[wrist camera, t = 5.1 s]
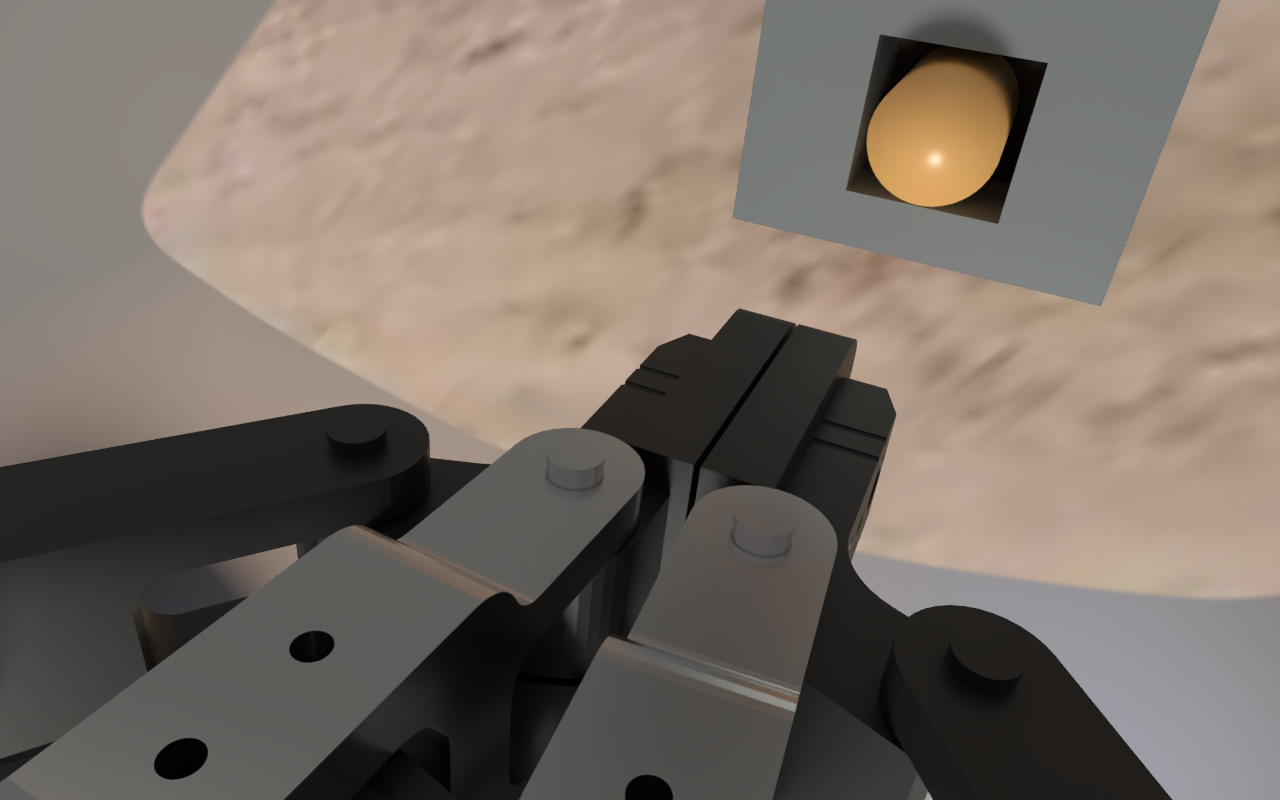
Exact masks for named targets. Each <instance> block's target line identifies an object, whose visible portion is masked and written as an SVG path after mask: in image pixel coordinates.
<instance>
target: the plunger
mask: <svg viewBox="0 0 1280 800" xmlns="http://www.w3.org/2000/svg"><path fill="white" fill-rule="evenodd" d="M1018 103H1019V88H1018V82H1017V79H1016V76H1015V73H1014V71H1013V69H1012V67H1011V66H1010V65H1009V63H1008V62H1007V61H1006V60H1005V59H1004V57H1003V56H1002V55H998V54H992V53H986V52H981V51H975V50H969V49H963V48H957V47H951V46H945V45H944V46H941V47H939V48H937V49H935V50H933V51H931V52H930V53H928V54H927V55H926V56H924V57H923V58H922V59H921V60H920V61H919V62H918V63H917V64H916V65H915V66H914V67H913V68H912V69H911V70H910V71H909V72H908V73H907V74H906V75H905V76H904V78H903V79H902V80H901V81H900V82H899V83H898V84H897V85H896V86H895V87H894V88H893V89H892V90H891V91H890V92H889V93H888V94H887V95H886V96H885V97H884V99H883V100H882V101H881V102H880V104H879V105H878V107H877V108H876V110H875V112H874V114H873V116H872V118H871V121H870V124H869V128H868V133H867V153H868V158H869V162H870V165H871V167H872V170H873V172H874V173H875V175H876V177H877V178H878V180H879V181H880V183H881V184H882V185H883V186H884V187H885V188H886V189H887V190H888V191H889V192H891V193H892V194H893V195H895V196H896V197H898V198H900V199H901V200H904V201H906V202H908V203H912V204H915V205H920V206H930V207H936V206H944V205H949V204H953V203H956V202H958V201H961V200H963V199H965V198H967V197H969V196H970V195H972V194H973V193H975V192H976V191H977V190H978V189H980V188H981V187H982V186H983V185H984V184H985V183H986V182H987V181H988V179H989V178H990V177H991V175H992V174H993V172H994V171H995V169H996V167H997V165H998V163H999V160H1000V157H1001V155H1002V152H1003V149H1004V146H1005V143H1006V141H1007V138H1008V135H1009V132H1010V129H1011V127H1012V124H1013V121H1014V118H1015V115H1016V112H1017V108H1018Z"/></svg>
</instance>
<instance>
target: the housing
mask: <svg viewBox="0 0 1280 800" xmlns="http://www.w3.org/2000/svg"><path fill="white" fill-rule="evenodd" d="M1219 2H1220V0H766V5H765V11H764V18H763V24H762V31H761V37H760V44H759V50H758V57H757V63H756V70H755V76H754V83H753V89H752V95H751V102H750V108H749V115H748V121H747V128H746V134H745V141H744V147H743V154H742V160H741V167H740V173H739V180H738V186H737V193H736V199H735V205H734V212H733V218H735V219H739V220H743V221H747V222H751V223H755V224H760V225H764V226H768V227H772V228H776V229H780V230H785V231H789V232H793V233H797V234H801V235H806V236H810V237H814V238H818V239H822V240H826V241H831V242H835V243H839V244H843V245H847V246H852V247H856V248H860V249H864V250H868V251H872V252H877V253H881V254H885V255H889V256H893V257H898V258H902V259H906V260H910V261H914V262H918V263H923V264H927V265H931V266H935V267H939V268H944V269H948V270H952V271H956V272H960V273H964V274H969V275H973V276H977V277H981V278H985V279H990V280H994V281H998V282H1002V283H1006V284H1010V285H1015V286H1019V287H1023V288H1027V289H1031V290H1036V291H1040V292H1044V293H1048V294H1052V295H1056V296H1061V297H1065V298H1069V299H1073V300H1077V301H1082V302H1086V303H1090V304H1094V305H1098V306H1101V305H1102V303H1103V300H1104V297H1105V295H1106V292H1107V290H1108V287H1109V285H1110V282H1111V279H1112V277H1113V274H1114V272H1115V269H1116V267H1117V264H1118V262H1119V259H1120V256H1121V254H1122V251H1123V249H1124V246H1125V244H1126V241H1127V238H1128V236H1129V233H1130V231H1131V228H1132V226H1133V223H1134V220H1135V218H1136V215H1137V213H1138V210H1139V208H1140V205H1141V203H1142V200H1143V197H1144V195H1145V192H1146V190H1147V187H1148V185H1149V182H1150V179H1151V177H1152V174H1153V172H1154V169H1155V167H1156V164H1157V161H1158V159H1159V156H1160V154H1161V151H1162V149H1163V146H1164V143H1165V141H1166V138H1167V136H1168V133H1169V131H1170V128H1171V126H1172V123H1173V120H1174V118H1175V115H1176V113H1177V110H1178V108H1179V105H1180V102H1181V100H1182V97H1183V95H1184V92H1185V90H1186V87H1187V84H1188V82H1189V79H1190V77H1191V74H1192V72H1193V69H1194V67H1195V64H1196V61H1197V59H1198V56H1199V54H1200V51H1201V49H1202V46H1203V43H1204V41H1205V38H1206V36H1207V33H1208V31H1209V28H1210V25H1211V23H1212V20H1213V18H1214V15H1215V13H1216V10H1217V7H1218V5H1219ZM901 38H905V39H910V40H916V41H922V42H928V43H934V44H940V45H945V46H951V47H957V48H963V49H969V50H975V51H981V52H986V53H992V54H998V55H1004V56H1010V57H1016V58H1022V59H1027V60H1033V61H1039V62H1045V63H1047V66H1046V69H1045V73H1044V76H1043V79H1042V82H1041V86H1040V89H1039V92H1038V95H1037V98H1036V102H1035V105H1034V108H1033V111H1032V115H1031V118H1030V121H1029V124H1028V127H1027V131H1026V134H1025V137H1024V140H1023V144H1022V147H1021V150H1020V153H1019V156H1018V160H1017V163H1016V166H1015V169H1014V173H1013V176H1012V179H1011V182H1010V183H1009V182H1004V181H999V180H994V179H988V181H987V182H986V183H985V184H984V185H983V186H982V187H981V188H980V189H978V190H977V191H976V192H975V193H973V194H972V195H970V196H969V197H967V198H965V199H963V200H961V201H958V202H956V203H953V204H949V205H944V206H936V207H930V206H920V205H915V204H912V203H908V202H906V201H904V200H901V199H900V198H898V197H896V196H895V195H893V194H892V193H891V192H889V191H888V190H887V189H886V188H885V187H884V186H883V185H882V184H881V183H880V181H879V180H878V178H877V177H876V175H875V173H874V172H873V170H872V167H871V165H870V162H869V158H868V153H867V133H868V128H869V124H870V121H871V118H872V116H873V114H874V112H875V110H876V108H877V107H878V105H879V104H880V102H881V101H882V100H883V99H884V97H885V96H886V95H887V94H888V93H889V89H890V85H891V81H892V76H893V72H894V68H895V63H896V59H897V54H898V50H899V46H900V41H901Z"/></svg>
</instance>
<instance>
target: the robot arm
mask: <svg viewBox="0 0 1280 800" xmlns="http://www.w3.org/2000/svg"><path fill="white" fill-rule="evenodd" d="M856 348H857V340H856V339H852V338H848V337H845V336H841V335H837V334H833V333H830V332H826V331H822V330H819V329H815V328H811V327H807V326H804V325H800V324H799V325H798V326H797V327H796V324H795V323H792V322H788V321H784V320H781V319H777V318H773V317H769V316H766V315H762V314H758V313H754V312H751V311H747V310H743V309H738V310H737V311H736V312H735V313H734V314H733V315H732V316H731V318H730V319H729V320H728V321H727V322H726V323H725V325H724V326H723V327H722V328H721V329H720V331H719V332H718V333H717V334H716V335H715V336H714V338H713V339H712V340H709V339H706V338H702V337H699V336H695V335H692V334H688V335H685V336H683V337H680V338H677V339H675V340H672V341H670V342H667V343H665V344H662V345H660V346H658V347H657V348H656V349H655V350H654V351H653V352H652V353H651V354H650V355H649V356H648V358H647V359H646V360H645V361H644V362H643V363H642V364H641V365H640V369H636V370H635V371H634V372H633V373H632V374H631V375H630V377H629V378H628V379H627V380H626V382H625V385H621V386H620V387H619V388H618V389H617V390H616V391H615V392H614V393H613V394H612V396H611V397H610V398H609V399H608V400H607V401H606V402H605V403H604V404H603V405H602V406H601V407H600V408H599V409H598V410H597V411H596V412H595V414H594V415H593V416H592V417H591V418H590V419H589V420H588V421H587V422H586V423H585V424H584V425H583V426H582V427H581V428H580V429H579V428H561V429H552V430H547V431H542V432H539V433H536V434H533V435H531V436H529V437H527V438H524V439H523V440H521V441H520V442H518V443H517V444H516V445H514V446H513V447H512V448H511V449H510V450H508V451H507V452H506V453H505V454H503V455H502V456H501V457H500V458H499V459H497V460H496V461H495V462H494V463H492V464H478V463H470V462H461V461H452V460H444V459H435V458H430V442H429V433H428V431H427V429H426V427H425V426H424V424H423V423H422V422H421V421H420V420H418V419H417V418H416V417H415V416H413V415H411V414H409V413H408V412H405V411H403V410H400V409H397V408H393V407H389V406H383V405H375V404H354V405H345V406H339V407H333V408H327V409H323V410H316V411H311V412H305V413H300V414H294V415H289V416H283V417H277V418H272V419H266V420H261V421H255V422H250V423H244V424H238V425H233V426H227V427H222V428H216V429H210V430H205V431H199V432H195V433H188V434H183V435H178V436H172V437H166V438H161V439H155V440H149V441H144V442H138V443H132V444H127V445H122V446H116V447H111V448H105V449H100V450H94V451H88V452H82V453H77V454H72V455H66V456H60V457H55V458H49V459H43V460H38V461H32V462H27V463H21V464H16V465H10V466H4V467H0V800H1172V799H1171V798H1170V796H1169V795H1168V794H1167V793H1166V792H1165V790H1164V789H1163V788H1162V787H1161V785H1160V784H1159V783H1158V782H1157V780H1156V779H1155V778H1154V777H1153V776H1152V774H1151V773H1150V772H1149V771H1148V769H1147V768H1146V767H1145V766H1144V764H1143V763H1142V762H1141V761H1140V760H1139V758H1138V757H1137V756H1136V755H1135V753H1134V752H1133V751H1132V750H1131V748H1130V747H1129V746H1128V745H1127V744H1126V742H1125V741H1124V740H1123V739H1122V737H1121V736H1120V735H1119V734H1118V732H1117V731H1116V730H1115V729H1114V728H1113V726H1112V725H1111V724H1110V723H1109V721H1108V720H1107V719H1106V718H1105V716H1104V715H1103V714H1102V713H1101V712H1100V710H1099V709H1098V708H1097V707H1096V705H1095V704H1094V703H1093V702H1092V700H1091V699H1090V698H1089V697H1088V696H1087V694H1086V693H1085V692H1084V691H1083V689H1082V688H1081V687H1080V686H1079V684H1078V683H1077V682H1076V681H1075V680H1074V678H1073V677H1072V676H1071V675H1070V674H1069V672H1068V671H1067V670H1066V669H1065V667H1064V666H1063V665H1062V664H1061V662H1060V661H1059V660H1058V659H1057V657H1056V656H1055V655H1054V654H1053V653H1052V652H1051V651H1050V650H1049V649H1048V648H1047V646H1046V645H1045V644H1043V643H1042V642H1041V641H1040V640H1039V639H1037V638H1036V637H1035V636H1034V635H1032V634H1031V633H1030V632H1028V631H1027V630H1025V629H1024V628H1022V627H1021V626H1019V625H1017V624H1015V623H1013V622H1011V621H1010V620H1008V619H1005V618H1003V617H1001V616H998V615H996V614H993V613H990V612H987V611H984V610H981V609H976V608H971V607H966V606H955V605H945V606H935V607H930V608H925V609H923V610H920V611H918V612H916V613H914V614H913V615H911V616H910V617H908V616H906V615H905V614H903V613H901V612H900V611H898V610H896V609H895V608H893V607H891V606H890V605H889V604H887V603H886V602H884V601H883V600H882V599H880V598H879V597H878V596H877V595H876V594H874V593H873V592H872V591H871V590H870V589H869V588H868V587H867V586H866V585H865V584H864V582H863V581H862V580H861V579H860V577H859V576H858V574H857V573H856V572H855V570H854V568H853V566H852V564H851V560H852V557H853V555H854V552H855V549H856V547H857V543H858V541H859V539H860V536H861V533H862V531H863V528H864V525H865V522H866V520H867V517H868V514H869V511H870V507H871V503H872V500H873V496H874V493H875V489H876V486H877V482H878V478H879V475H880V471H881V468H882V464H883V461H884V457H885V453H886V450H887V446H888V443H889V439H890V436H891V432H892V428H893V425H894V421H895V418H896V412H895V410H894V407H893V404H892V402H891V399H890V396H889V394H888V391H887V389H884V388H881V387H877V386H874V385H870V384H866V383H863V382H859V381H856V380H852V379H850V375H851V371H852V367H853V362H854V358H855V353H856ZM293 544H296V546H297V554H298V560H297V561H296V562H294V563H293V564H292V565H290V566H289V567H288V568H287V569H285V570H284V571H282V572H281V573H280V574H278V575H277V576H276V577H274V578H273V579H272V580H270V581H269V582H268V583H267V584H265V585H264V586H262V587H261V588H260V589H258V590H257V591H256V592H254V593H253V594H252V595H251V596H248V597H244V598H240V599H237V600H233V601H229V602H225V603H221V604H217V605H213V606H210V607H206V608H202V609H198V610H194V611H190V612H186V613H182V614H176V615H164V614H158V613H155V612H153V611H151V610H149V609H148V608H146V607H145V606H144V605H143V604H142V602H141V600H140V597H139V592H140V591H141V590H142V589H143V588H144V587H146V586H147V585H148V584H149V583H151V582H153V581H154V580H156V579H158V578H160V577H162V576H165V575H169V574H172V573H176V572H180V571H185V570H189V569H193V568H197V567H201V566H206V565H210V564H214V563H218V562H222V561H227V560H231V559H235V558H239V557H243V556H247V555H252V554H256V553H260V552H264V551H268V550H273V549H277V548H280V547H285V546H289V545H293Z"/></svg>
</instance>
